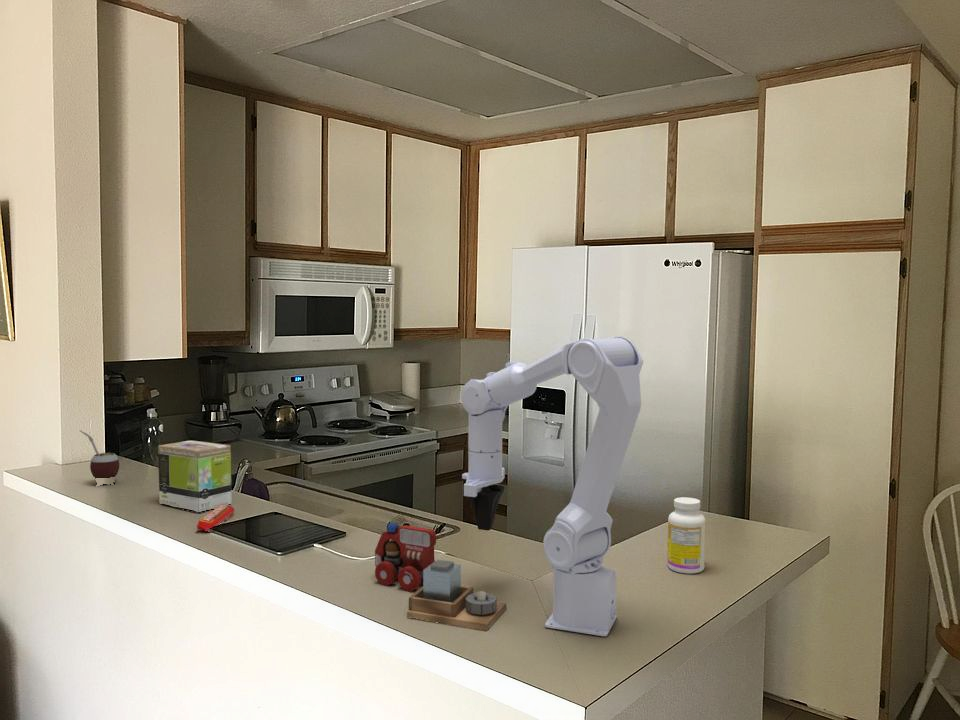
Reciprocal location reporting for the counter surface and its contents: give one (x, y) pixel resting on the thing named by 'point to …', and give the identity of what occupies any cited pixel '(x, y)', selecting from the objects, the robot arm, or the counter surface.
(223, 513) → the candy bar
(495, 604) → the wheel
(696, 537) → the supplement bottle
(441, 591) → the grey block
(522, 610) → the counter surface
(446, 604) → the board
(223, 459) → the tea box
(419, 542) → the toy fire truck
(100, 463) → the mate gourd
